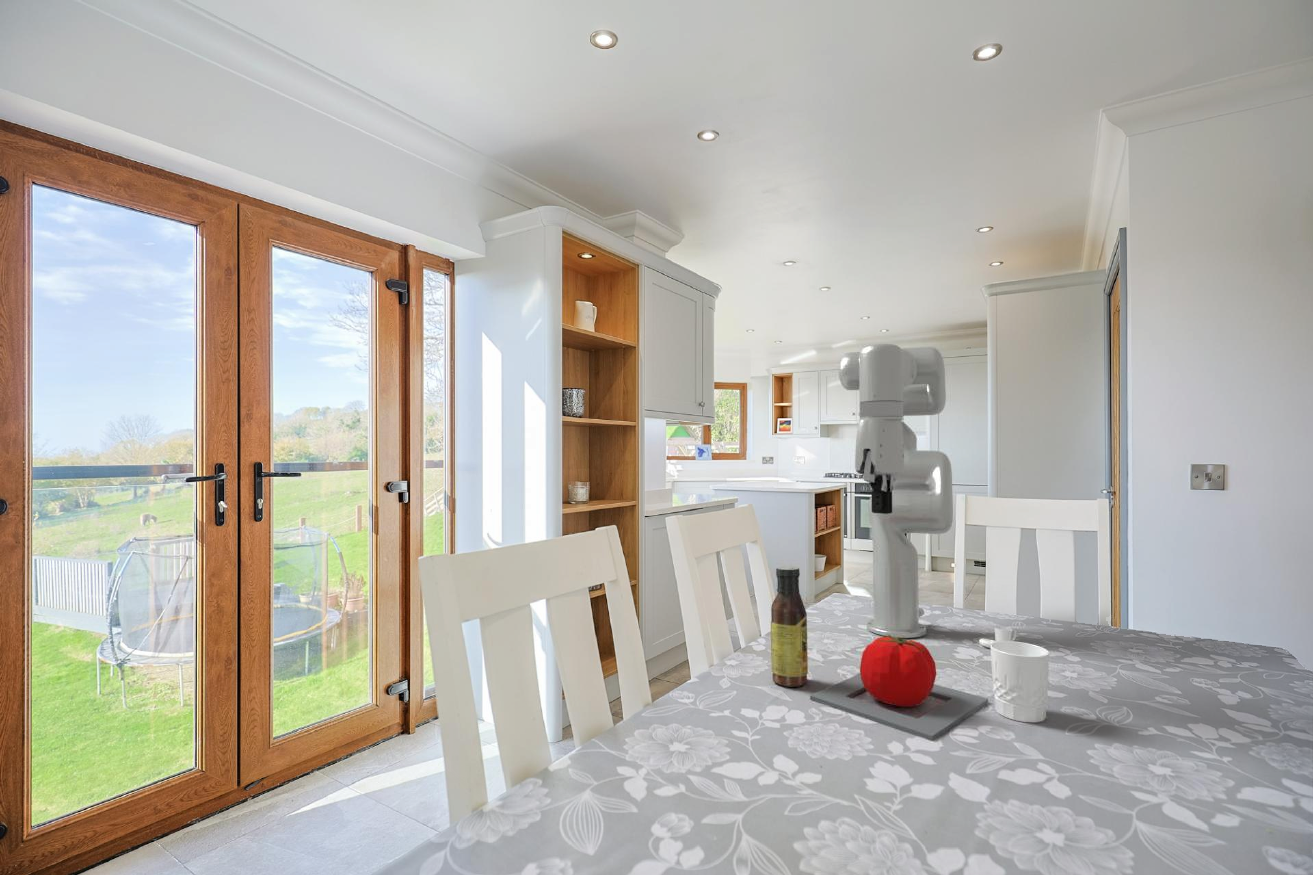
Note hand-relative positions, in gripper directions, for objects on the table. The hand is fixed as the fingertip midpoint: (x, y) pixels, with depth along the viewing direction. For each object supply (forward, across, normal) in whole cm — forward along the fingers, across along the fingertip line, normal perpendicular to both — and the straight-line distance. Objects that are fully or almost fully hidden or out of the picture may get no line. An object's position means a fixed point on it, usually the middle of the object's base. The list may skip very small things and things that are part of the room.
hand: (881, 512), depth 116 cm
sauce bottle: (+29, +16, -9) cm, 35 cm away
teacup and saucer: (+30, -34, +5) cm, 46 cm away
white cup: (+29, +1, +23) cm, 37 cm away
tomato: (+29, +10, +8) cm, 32 cm away
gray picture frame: (+29, +10, +8) cm, 32 cm away
